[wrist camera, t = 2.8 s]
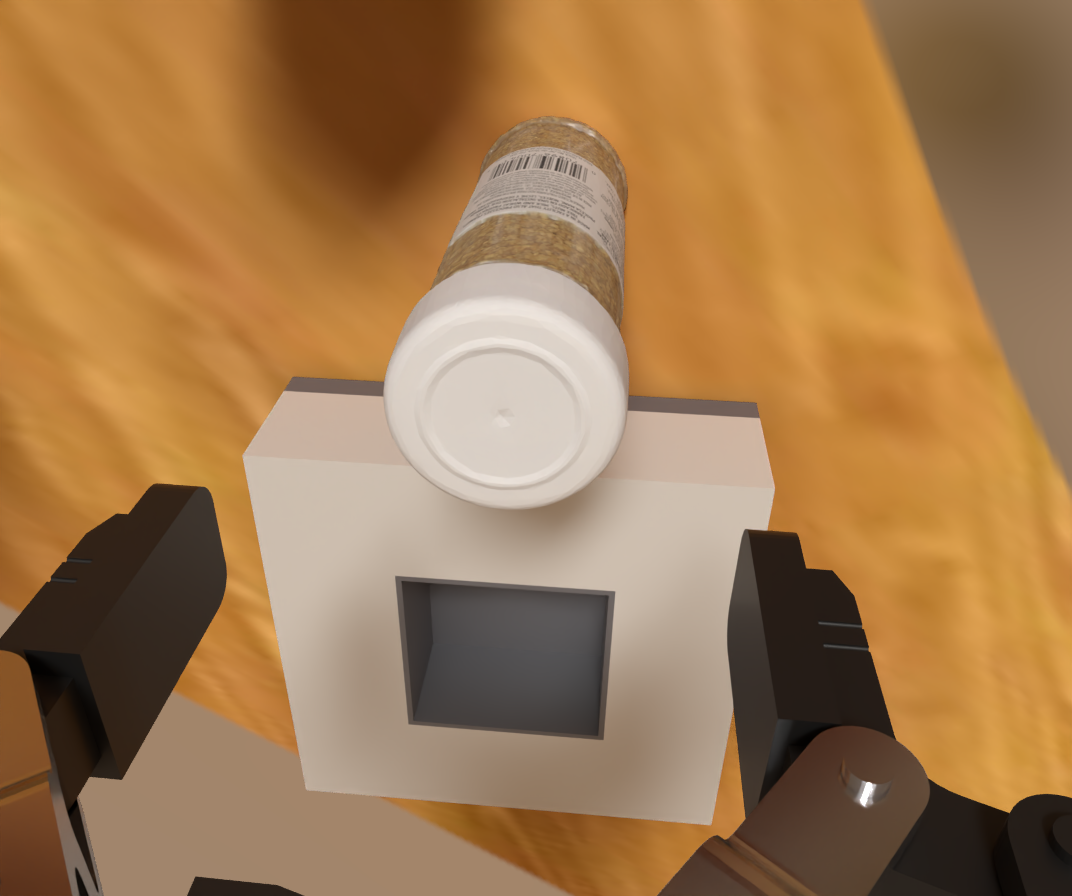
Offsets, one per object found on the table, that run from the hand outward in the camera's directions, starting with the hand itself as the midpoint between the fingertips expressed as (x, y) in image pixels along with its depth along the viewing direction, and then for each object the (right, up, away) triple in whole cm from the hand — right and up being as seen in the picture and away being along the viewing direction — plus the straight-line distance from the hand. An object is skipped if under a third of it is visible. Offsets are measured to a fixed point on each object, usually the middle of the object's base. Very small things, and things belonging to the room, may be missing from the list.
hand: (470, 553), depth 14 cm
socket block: (0, -3, +22) cm, 23 cm away
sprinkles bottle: (+2, +9, +14) cm, 17 cm away
